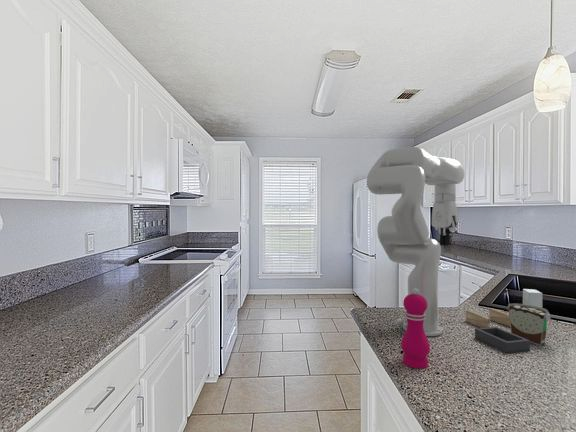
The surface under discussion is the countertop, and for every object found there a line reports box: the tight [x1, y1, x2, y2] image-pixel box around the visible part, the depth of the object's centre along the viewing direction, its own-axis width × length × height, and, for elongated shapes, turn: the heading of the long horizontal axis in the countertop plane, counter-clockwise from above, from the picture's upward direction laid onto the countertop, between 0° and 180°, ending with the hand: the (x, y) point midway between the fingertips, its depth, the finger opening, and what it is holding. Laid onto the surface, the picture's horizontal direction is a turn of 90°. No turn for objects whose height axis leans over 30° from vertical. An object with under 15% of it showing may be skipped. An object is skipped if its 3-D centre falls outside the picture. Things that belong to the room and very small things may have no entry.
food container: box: [506, 303, 551, 347], centre depth 106 cm, size 12×6×10 cm, turn 20°
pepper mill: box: [400, 288, 431, 370], centre depth 89 cm, size 7×7×20 cm
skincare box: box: [522, 288, 543, 308], centre depth 120 cm, size 6×4×12 cm
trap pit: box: [474, 326, 531, 354], centre depth 102 cm, size 8×12×3 cm, turn 12°
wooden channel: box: [465, 307, 510, 328], centre depth 120 cm, size 11×10×4 cm
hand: (444, 245), depth 133 cm, fingers closed
